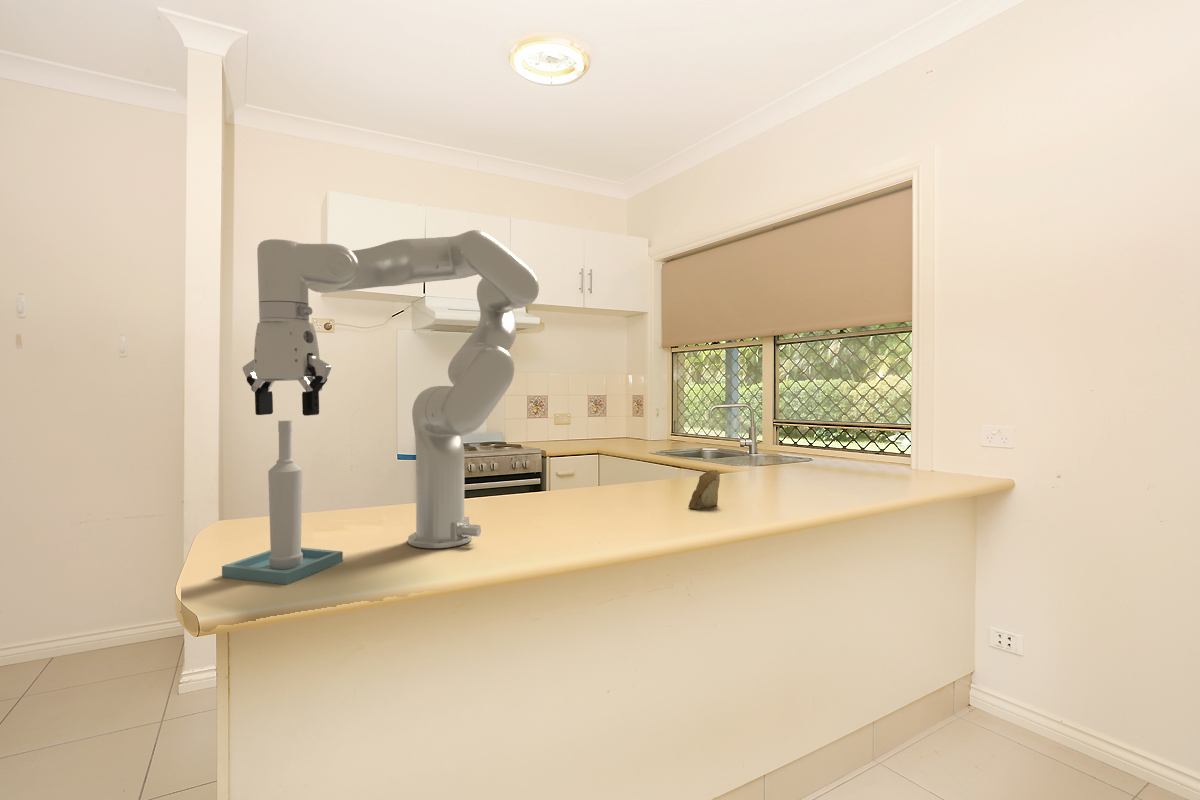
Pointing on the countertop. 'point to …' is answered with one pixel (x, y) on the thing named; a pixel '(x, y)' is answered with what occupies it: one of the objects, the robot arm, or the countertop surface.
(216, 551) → the countertop surface
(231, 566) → the tray
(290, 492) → the bottle
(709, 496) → the rock
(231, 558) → the countertop surface
